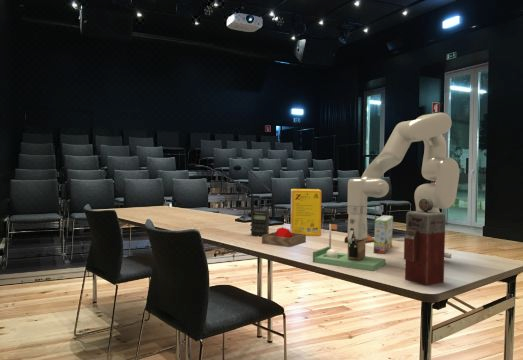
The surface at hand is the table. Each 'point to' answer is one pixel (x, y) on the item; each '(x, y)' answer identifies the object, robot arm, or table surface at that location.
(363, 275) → the table surface
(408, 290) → the table surface
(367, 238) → the sunglasses case
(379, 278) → the table surface
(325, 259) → the green
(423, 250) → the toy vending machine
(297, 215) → the packaging box
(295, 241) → the display frame
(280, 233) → the gemstone
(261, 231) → the geiger counter
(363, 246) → the block
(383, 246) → the snack box
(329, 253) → the ball
